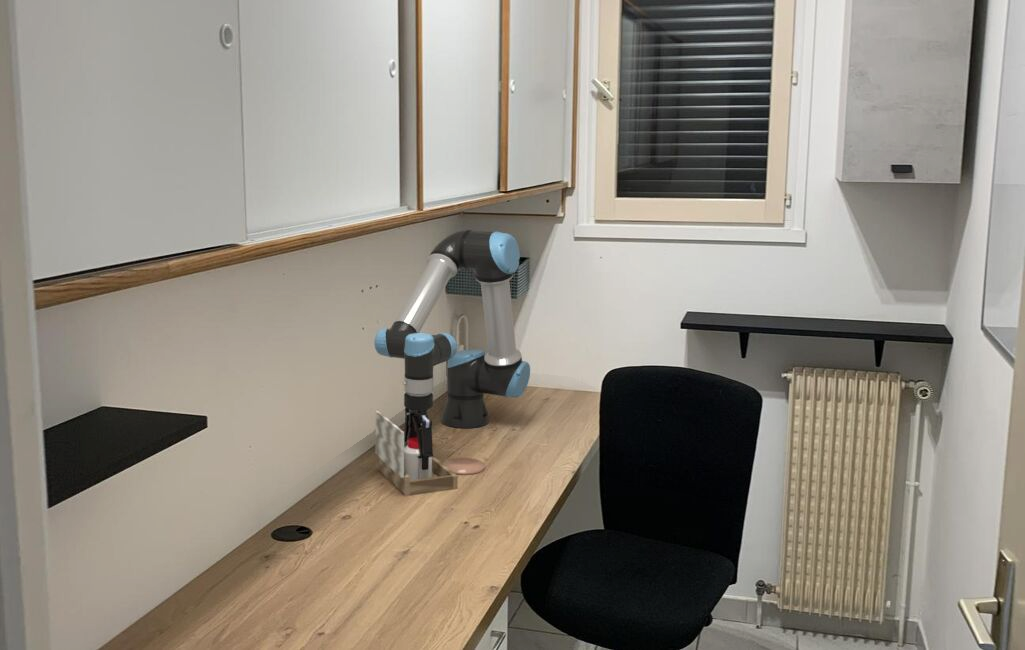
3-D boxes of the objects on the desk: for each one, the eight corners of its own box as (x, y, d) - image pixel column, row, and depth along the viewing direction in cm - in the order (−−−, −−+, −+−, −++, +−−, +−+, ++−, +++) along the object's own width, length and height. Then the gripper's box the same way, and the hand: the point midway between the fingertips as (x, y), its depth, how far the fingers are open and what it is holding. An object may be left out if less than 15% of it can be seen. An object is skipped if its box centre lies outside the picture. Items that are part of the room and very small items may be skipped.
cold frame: (375, 471, 266) (375, 411, 263) (428, 464, 273) (429, 405, 270) (401, 496, 248) (401, 432, 245) (457, 488, 255) (458, 426, 252)
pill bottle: (398, 476, 262) (399, 437, 260) (425, 472, 266) (425, 434, 264) (409, 486, 256) (409, 446, 253) (436, 482, 259) (437, 442, 257)
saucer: (434, 463, 273) (434, 460, 273) (473, 458, 279) (474, 455, 279) (451, 477, 263) (451, 474, 263) (491, 471, 268) (491, 469, 268)
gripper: (391, 384, 263) (391, 464, 268) (419, 404, 245) (418, 489, 250) (417, 381, 267) (416, 461, 271) (447, 401, 249) (445, 486, 253)
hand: (417, 474), depth 260 cm, fingers open, 8 cm apart
